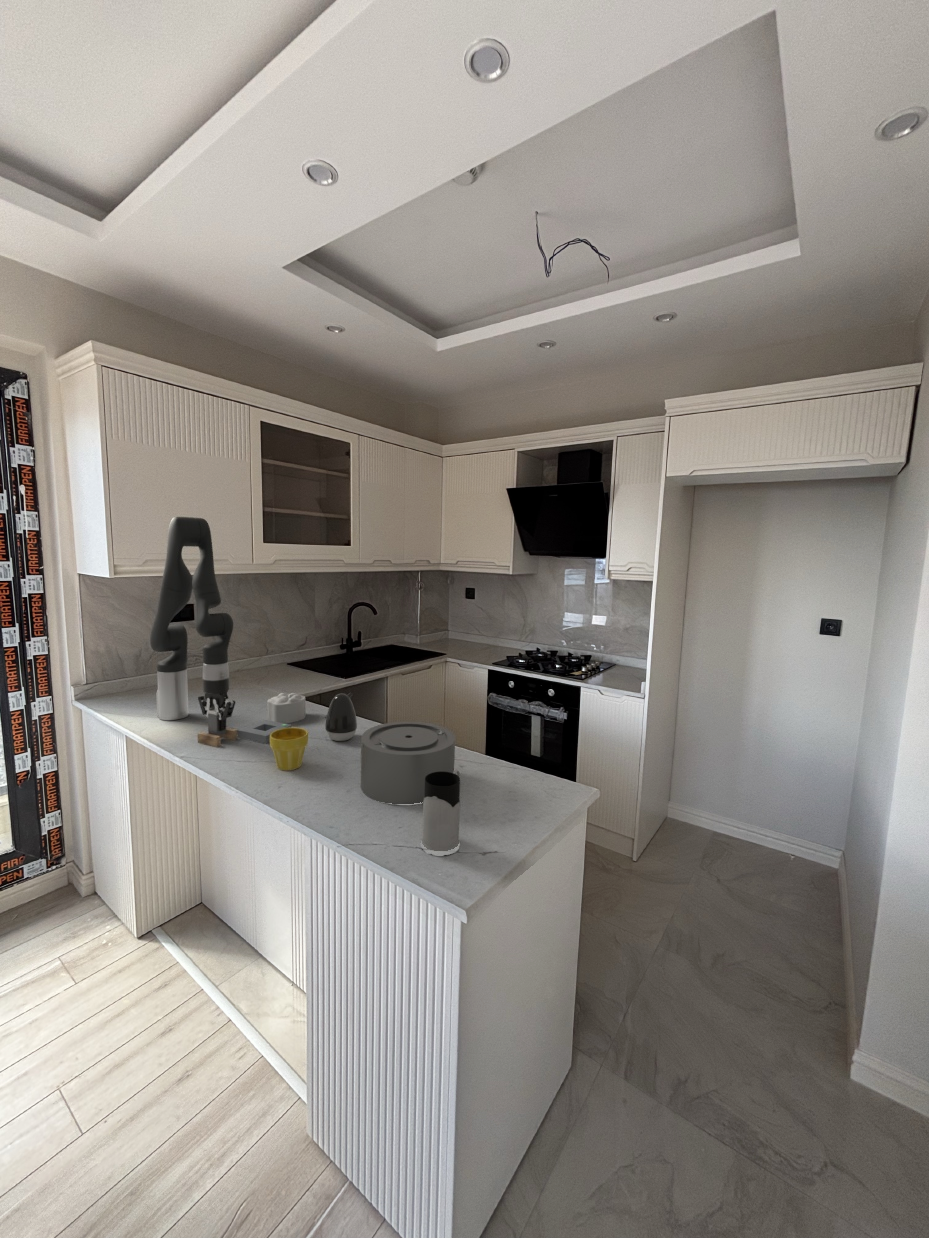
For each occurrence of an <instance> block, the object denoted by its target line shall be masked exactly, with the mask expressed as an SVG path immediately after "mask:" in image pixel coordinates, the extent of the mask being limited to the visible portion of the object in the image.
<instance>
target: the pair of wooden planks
mask: <svg viewBox="0 0 929 1238" xmlns="http://www.w3.org/2000/svg"><path fill="white" fill-rule="evenodd" d="M237 730H238V729H234V728H230V727H226V734H223V735H221V736H217V735H212V734H208V733H207V732H202V731H201V732H198V733H197V743H198V744H201V745H202V744H203V745H206V746H209V747H215V748H217V747H220V746H221V738H222V739H226V740H230V741H235V740H237V739H238V737H237Z"/></svg>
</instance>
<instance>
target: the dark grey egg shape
mask: <svg viewBox="0 0 929 1238" xmlns="http://www.w3.org/2000/svg"><path fill="white" fill-rule="evenodd" d="M352 696H353V693H352V692H349V693H348V694H346V693H342V692H341V693H338V694H336V695H335V696H334V697H333V698H332V700H331V702H330V704H329V707H328V710H327V715H326V717H325V718H326V719H325V725H324V726H325V727H324V728H325V731H326V733H327V736H328V737H329V738H330V739H331V740H333V741H337V742H346V741H349V740H350V739H352V737H354V735H355V733H356V730H357V729H358V722H357V715H356V710H355V708H354V704H353V702H352V701H353V700H351V697H352Z"/></svg>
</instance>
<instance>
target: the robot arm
mask: <svg viewBox="0 0 929 1238" xmlns="http://www.w3.org/2000/svg"><path fill="white" fill-rule="evenodd" d="M212 540H213V539H212V532H211V527H210V525H209V523H208V521H207V520H206V519H204V518H203V517H202V518H201V517H192V516H190V517H189V516H174V517H172V518H171V520H170V522H169V525H168V532H167V546H166V556H165V564H164V570H163V575H162V579H161V584H160V589H159V596H158V598H159V599H158V605H157V610H156V613H155V617H154V620H153V623H152V628H151V631H150V638H149V639H150V640H149V641H150V647H151V649H152V650H153V651H154V652H157V653H164V652H165V653H168V652H172V653H171V654H170V655H169V656H168V657H166V658H164V659H161V660H160V661H158V662H157V664H156V671H157V672H156V674H157V676H156V677H157V678H156V679H157V690H156V693H155V696H156V715H157V717H158V719H159V720H161V721H177V720H181V719H184V718H187V717H188V716H189V699H188V698H189V696H188V672H187V671H188V669H187V664H188V639H189V637H188V630H187V628H186V627H185V626H184V625H183V624H170V623H171V621H172V620H173V619H174V617H175V616H176V615H177V614H179V613H180V611H182V610H183V609H184V608H185V606H186V605H187V604H188V603H189V601H190V599H191V598H192V597H191V596H192V592H193V595H194V599H195V604H196V605H195V606H196V607H195V609H196V610H195V611H196V612H195V613H196V614H195V625H194V626H195V630H196V632H197V633H198V635H200V636H201V637H203V638H210V637H216V638H215V640H213V641H212V642H209V643H207V644H204V645H203V647H202V669H201V670H202V671H201V672H202V692H203V693H204V695H200V696H198V697H197V700H198V704H199V706H200V710H201V713H202V715H204V716H206V718H208V713H209V710H212V709H215V711H216V713H217V714H218V719H219V720H218V724H219V731H223V730H225V729H226V728H227V719H229V718H231V717H232V715H233V712H234V708H235V706H236V701H235V700H233V699H232V700H231V699H230V698H229V696H228V692H229V690H230V669H229V668H230V667H229V651H228V650H229V646H230V642H231V638H232V634H233V631H234V620H233V618H232V616H231V615H230V614H229V613H227V612H215V613H209V610H210V609H214V608H216V607H219V606H220V605H221V603H222V599H221V595H220V591H219V586H218V584H217V583H218V582H217V577H216V573H215V571H216V570H215V561H214V551H213V550H214V549H213V541H212ZM184 547H191V548H192V547H194V548H195V547H198V551H199V560H198V564H197V566H196V568H195V570H194V572H193V575H192V574H191V571H190V570H189V569H188V567H187V565H186V563H185V562H184V559H183V553H182V552H183V549H184ZM221 712H223V715H222V714H221Z"/></svg>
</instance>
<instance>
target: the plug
mask: <svg viewBox="0 0 929 1238" xmlns="http://www.w3.org/2000/svg"><path fill="white" fill-rule="evenodd" d="M221 714H222V715H223V712H221ZM218 720H219V719H218V714H217V713H216V711H215V709H212V710H209V713H208V717H207V727H208V728H207V729H208V730H207V731H208V734H212V735H217V736H221V735H223V734H226V729H225V730H223V731H219V724H218Z"/></svg>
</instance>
